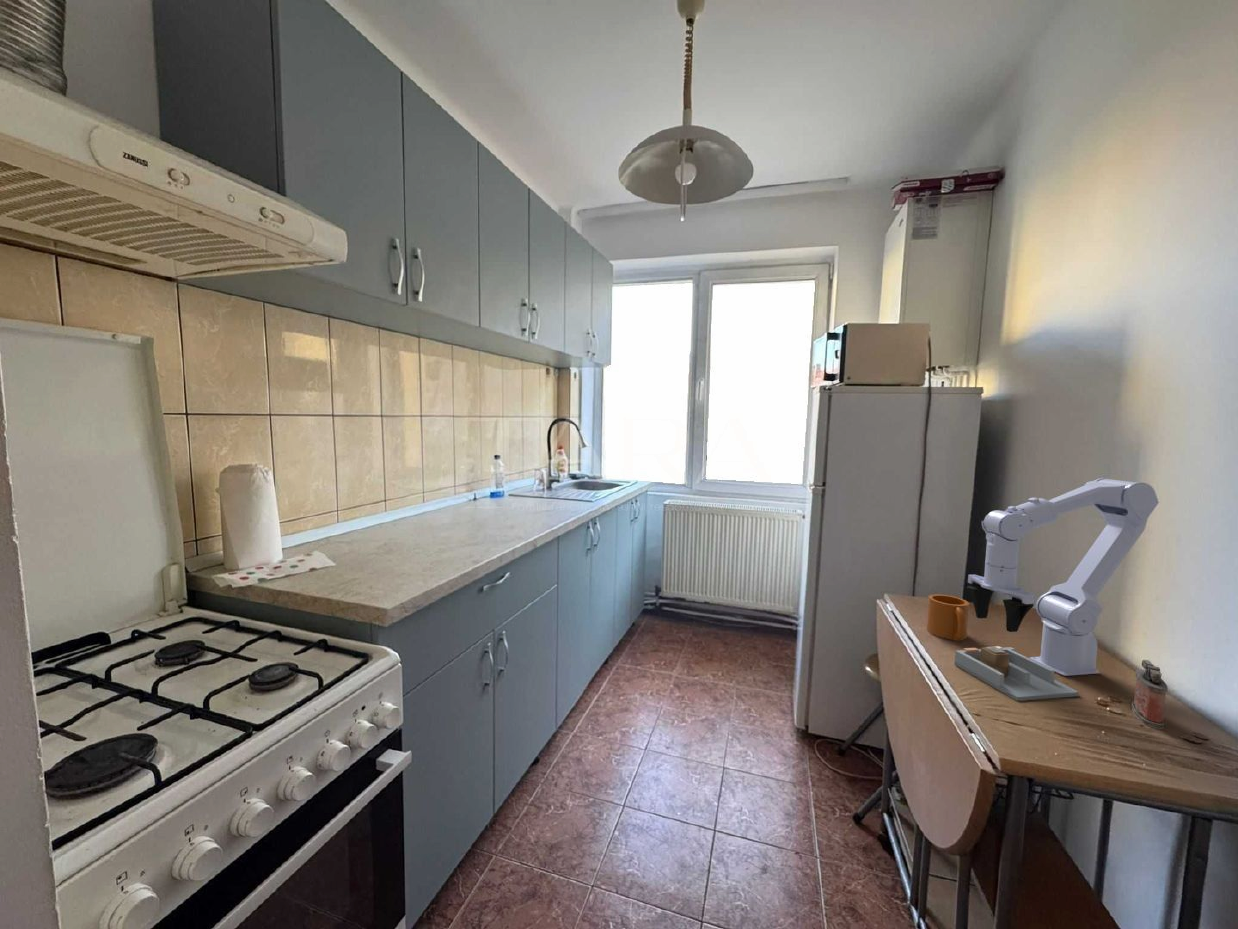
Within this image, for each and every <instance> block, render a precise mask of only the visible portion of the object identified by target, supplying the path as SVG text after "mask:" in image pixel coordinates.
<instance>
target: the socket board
mask: <svg viewBox="0 0 1238 929" xmlns="http://www.w3.org/2000/svg"><path fill="white" fill-rule="evenodd" d="M994 647H996V648H998V649H1000V650H1002V651H1005V652H1006V653H1008V654H1010V655H1009V667H1008V677H1004V674H1002V673H1001V672H999V671H997V670H995V669H993V668H991V667H989V666H988V665H986V664H984V663H982V662H980V651H981V648H977V647H965V648H963V650H961V649H959V650H955V656H954V665H955V666H956V667H957V668H959V669H960V670H963V671H965V672H966V673H968V674H970V675H971V676H973V677H975V678H977V679H978V680H980V681H982V682H984V683H985V684H987V685H989V686H990V687H992V688H994V689H996V690H998V692H1000V693H1002V694H1004V695H1006V696H1007V697H1010V698H1011V699H1013V700H1015V701H1016V702H1022V701H1023V702H1024V701H1032V700H1033V701H1034V700H1046V699H1057V698H1069V697H1071V698H1072V697H1080V691H1078V690H1076V689H1074V688H1072V687H1070V686H1069V685H1066V684H1064V683H1062V682H1060V681H1058V680H1056V679H1055V673H1056V672H1055V671H1054V670H1052V669H1050V668H1048V667H1046V666H1044V665H1042V664H1040V663H1038V662H1036V661H1034V660H1031V659H1030V657H1028V656H1025V655H1023V654H1021V653H1019V652H1017V651H1016V649H1015V648H1013V647H1012V646H1009V647H1008V646H1007V647H1002V646H999V645H998V646H994Z"/></svg>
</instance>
